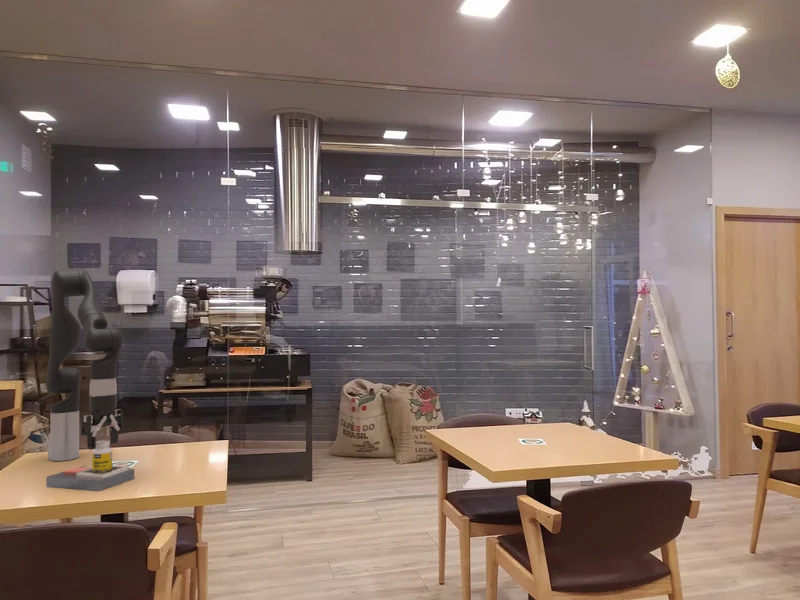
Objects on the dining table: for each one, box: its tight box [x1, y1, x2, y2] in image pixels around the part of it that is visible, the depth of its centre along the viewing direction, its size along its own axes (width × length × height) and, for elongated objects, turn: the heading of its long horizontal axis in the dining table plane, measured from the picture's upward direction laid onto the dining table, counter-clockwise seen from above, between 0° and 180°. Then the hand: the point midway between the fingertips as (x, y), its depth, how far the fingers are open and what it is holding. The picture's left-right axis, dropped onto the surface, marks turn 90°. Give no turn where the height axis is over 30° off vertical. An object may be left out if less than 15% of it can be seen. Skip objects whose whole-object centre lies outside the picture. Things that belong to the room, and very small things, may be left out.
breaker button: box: [63, 466, 90, 475], centre depth 178 cm, size 5×5×4 cm
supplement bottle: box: [92, 439, 113, 474], centre depth 175 cm, size 5×5×10 cm
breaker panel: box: [45, 464, 135, 492], centre depth 176 cm, size 20×14×4 cm
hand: (103, 446), depth 176 cm, fingers open, 8 cm apart
